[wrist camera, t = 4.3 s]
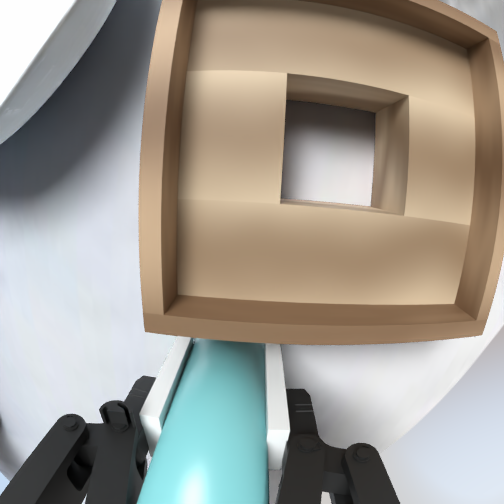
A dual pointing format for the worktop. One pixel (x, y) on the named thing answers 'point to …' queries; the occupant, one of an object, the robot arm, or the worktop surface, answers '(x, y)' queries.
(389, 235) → the bore box
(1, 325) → the worktop surface
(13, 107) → the serving bowl
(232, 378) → the peg
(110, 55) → the worktop surface
